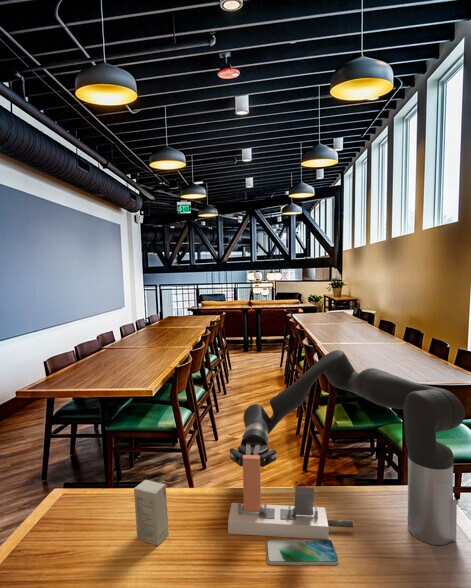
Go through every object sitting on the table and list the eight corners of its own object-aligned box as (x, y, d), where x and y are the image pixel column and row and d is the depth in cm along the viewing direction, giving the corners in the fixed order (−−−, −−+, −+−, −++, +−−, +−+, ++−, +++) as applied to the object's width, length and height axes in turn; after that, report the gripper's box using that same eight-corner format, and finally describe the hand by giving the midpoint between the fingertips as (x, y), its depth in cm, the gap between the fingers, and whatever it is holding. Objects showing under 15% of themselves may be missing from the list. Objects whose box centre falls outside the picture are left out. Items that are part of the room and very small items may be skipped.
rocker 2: (312, 509, 91) (315, 487, 82) (313, 516, 90) (316, 495, 80) (292, 508, 91) (293, 486, 82) (292, 515, 90) (293, 494, 81)
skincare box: (169, 534, 89) (167, 484, 88) (158, 546, 85) (156, 494, 84) (147, 527, 92) (145, 478, 91) (135, 538, 88) (133, 487, 87)
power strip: (349, 520, 93) (349, 501, 92) (355, 540, 86) (355, 520, 85) (231, 514, 96) (231, 496, 96) (228, 533, 89) (227, 513, 89)
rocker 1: (262, 509, 92) (261, 455, 91) (262, 513, 91) (261, 458, 90) (242, 508, 93) (241, 454, 92) (242, 512, 91) (241, 458, 90)
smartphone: (265, 538, 86) (331, 538, 86) (265, 542, 87) (331, 542, 86) (267, 562, 79) (339, 562, 79) (267, 566, 79) (339, 566, 79)
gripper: (278, 454, 108) (278, 487, 91) (232, 453, 110) (223, 484, 93) (278, 428, 108) (277, 456, 91) (231, 427, 110) (222, 454, 92)
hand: (250, 470), depth 92 cm, fingers closed
